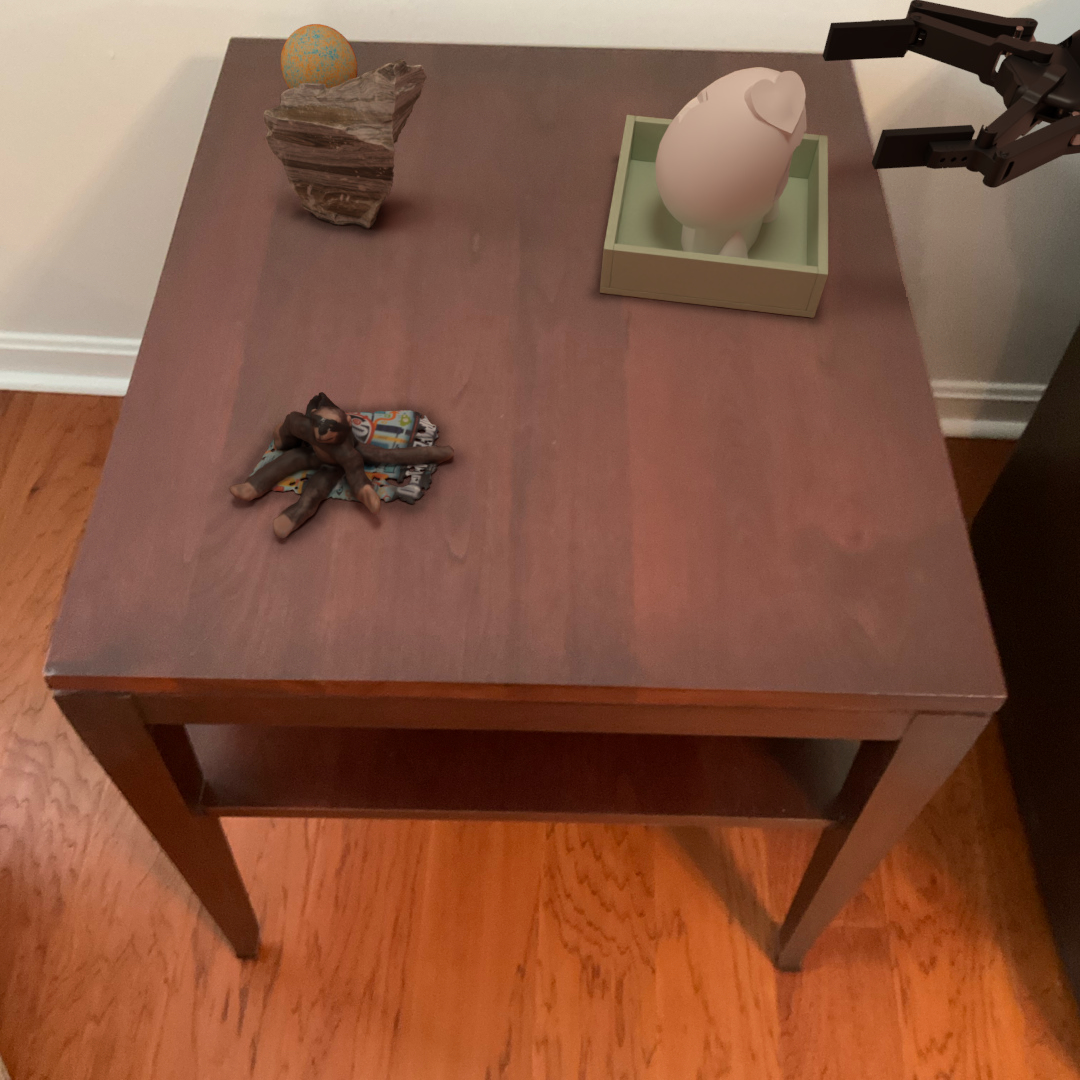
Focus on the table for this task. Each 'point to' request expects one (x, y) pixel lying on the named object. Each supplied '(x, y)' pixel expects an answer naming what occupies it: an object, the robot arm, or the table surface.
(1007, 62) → the robot arm
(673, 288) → the tote
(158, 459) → the table surface
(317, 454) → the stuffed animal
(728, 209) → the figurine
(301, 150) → the rock
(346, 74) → the ball
